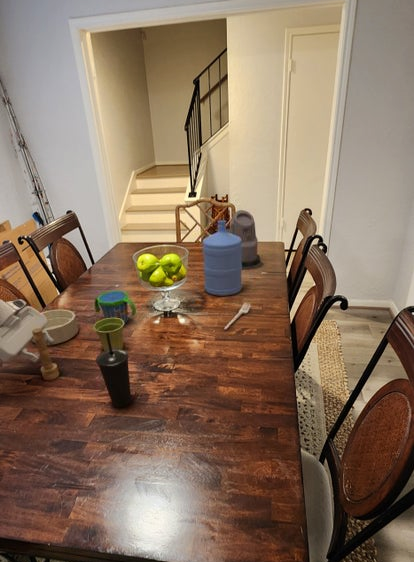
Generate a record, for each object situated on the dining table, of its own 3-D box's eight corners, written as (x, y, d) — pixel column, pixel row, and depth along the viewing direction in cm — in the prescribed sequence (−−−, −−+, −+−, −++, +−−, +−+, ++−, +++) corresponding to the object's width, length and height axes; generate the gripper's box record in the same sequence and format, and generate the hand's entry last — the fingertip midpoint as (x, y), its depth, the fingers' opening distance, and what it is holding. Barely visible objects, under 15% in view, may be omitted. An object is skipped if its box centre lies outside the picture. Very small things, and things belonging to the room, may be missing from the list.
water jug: (237, 297, 149) (237, 226, 134) (200, 295, 153) (196, 225, 138) (244, 283, 161) (245, 216, 147) (210, 281, 165) (207, 216, 151)
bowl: (26, 348, 121) (20, 332, 118) (38, 326, 135) (33, 311, 132) (74, 343, 123) (70, 327, 120) (81, 322, 136) (78, 307, 133)
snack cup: (91, 324, 134) (85, 299, 129) (109, 313, 142) (104, 288, 137) (126, 332, 128) (121, 305, 123) (143, 319, 136) (139, 293, 131)
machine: (266, 266, 180) (268, 213, 167) (236, 271, 176) (235, 217, 163) (241, 250, 204) (242, 203, 191) (214, 254, 200) (212, 206, 187)
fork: (220, 329, 127) (220, 324, 126) (243, 306, 141) (243, 302, 140) (229, 331, 125) (229, 326, 124) (251, 308, 140) (251, 303, 139)
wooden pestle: (41, 381, 105) (25, 335, 97) (45, 372, 109) (30, 327, 101) (57, 379, 106) (43, 333, 98) (60, 370, 109) (46, 325, 101)
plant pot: (134, 343, 121) (130, 319, 117) (117, 358, 114) (112, 333, 109) (110, 339, 124) (105, 316, 120) (92, 353, 117) (86, 329, 112)
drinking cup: (110, 392, 99) (95, 326, 89) (139, 392, 99) (127, 325, 88) (102, 411, 93) (85, 342, 82) (133, 411, 92) (119, 341, 82)
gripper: (-19, 330, 88) (32, 365, 92) (24, 296, 106) (65, 327, 110) (-29, 346, 91) (20, 379, 95) (15, 311, 108) (55, 340, 113)
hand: (45, 351), depth 103 cm, fingers open, 7 cm apart
